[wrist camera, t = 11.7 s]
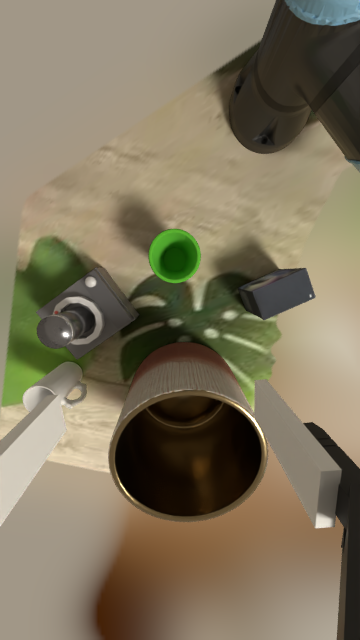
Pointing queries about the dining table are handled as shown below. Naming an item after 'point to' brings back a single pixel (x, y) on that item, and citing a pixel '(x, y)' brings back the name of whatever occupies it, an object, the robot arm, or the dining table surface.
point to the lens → (64, 327)
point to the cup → (174, 255)
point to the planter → (186, 437)
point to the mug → (57, 386)
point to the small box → (277, 292)
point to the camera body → (93, 309)
